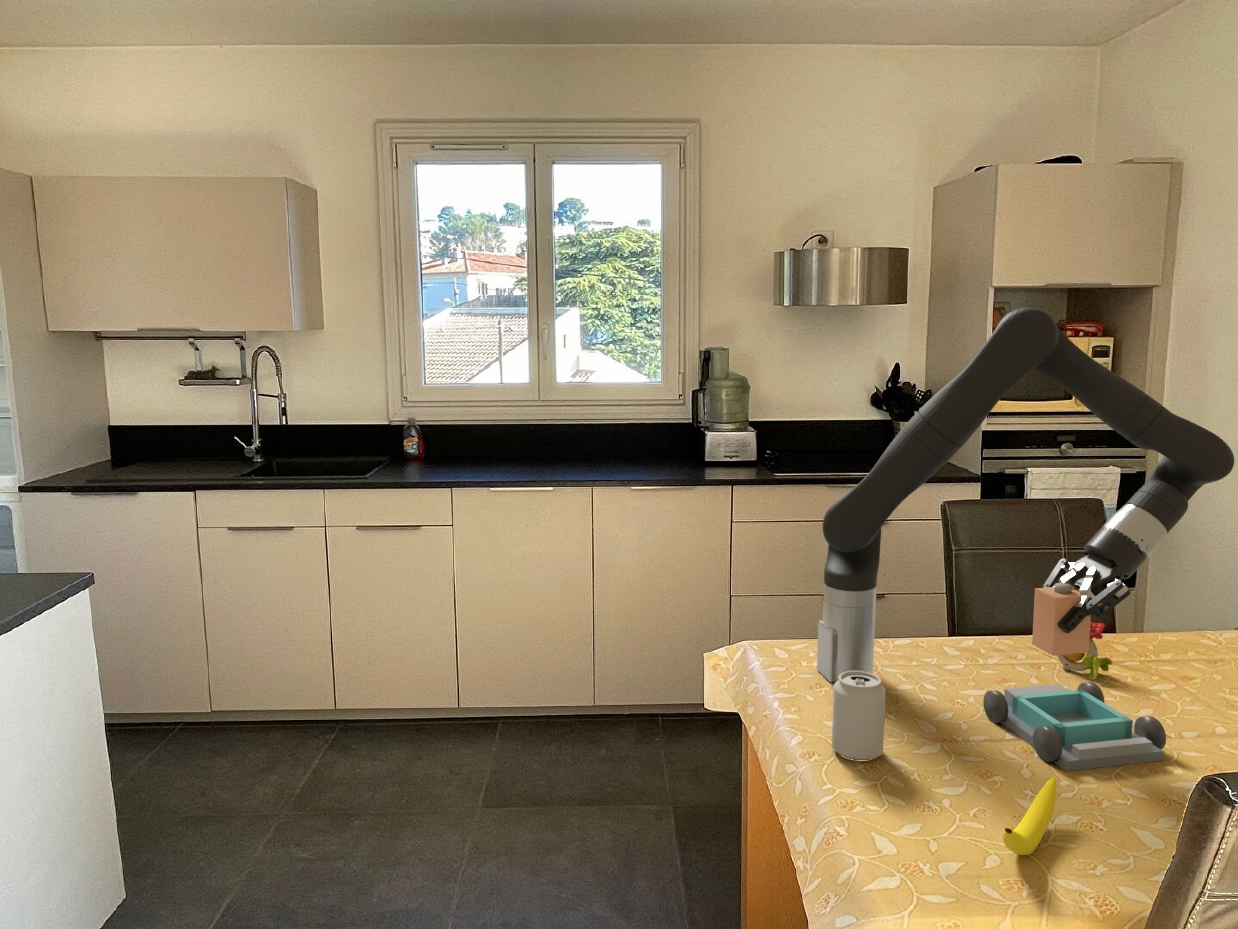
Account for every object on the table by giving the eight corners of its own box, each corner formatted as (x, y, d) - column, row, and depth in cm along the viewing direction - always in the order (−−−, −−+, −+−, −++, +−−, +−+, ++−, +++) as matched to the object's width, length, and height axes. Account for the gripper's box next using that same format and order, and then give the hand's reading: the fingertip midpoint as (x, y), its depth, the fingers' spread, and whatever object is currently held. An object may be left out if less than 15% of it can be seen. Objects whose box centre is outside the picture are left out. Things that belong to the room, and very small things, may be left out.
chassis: (1057, 772, 129) (1060, 739, 128) (979, 712, 149) (980, 683, 148) (1169, 760, 132) (1172, 728, 132) (1078, 703, 152) (1080, 675, 151)
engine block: (1052, 655, 135) (1056, 591, 133) (1032, 644, 140) (1035, 582, 138) (1088, 652, 136) (1092, 588, 134) (1066, 641, 140) (1070, 579, 139)
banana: (1063, 815, 118) (1067, 770, 117) (1017, 884, 104) (1021, 834, 103) (1040, 807, 120) (1044, 763, 119) (991, 874, 106) (995, 825, 105)
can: (884, 745, 138) (887, 671, 136) (881, 768, 131) (884, 690, 129) (834, 738, 140) (836, 665, 138) (829, 760, 133) (831, 684, 131)
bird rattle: (1060, 686, 164) (1111, 680, 157) (1039, 627, 165) (1089, 618, 159) (1072, 676, 168) (1122, 670, 162) (1051, 619, 170) (1100, 610, 163)
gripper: (1079, 515, 143) (1007, 594, 143) (1146, 536, 129) (1066, 623, 129) (1107, 545, 144) (1036, 623, 144) (1176, 569, 131) (1097, 655, 130)
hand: (1050, 623), depth 137 cm, fingers closed on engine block, 5 cm apart
